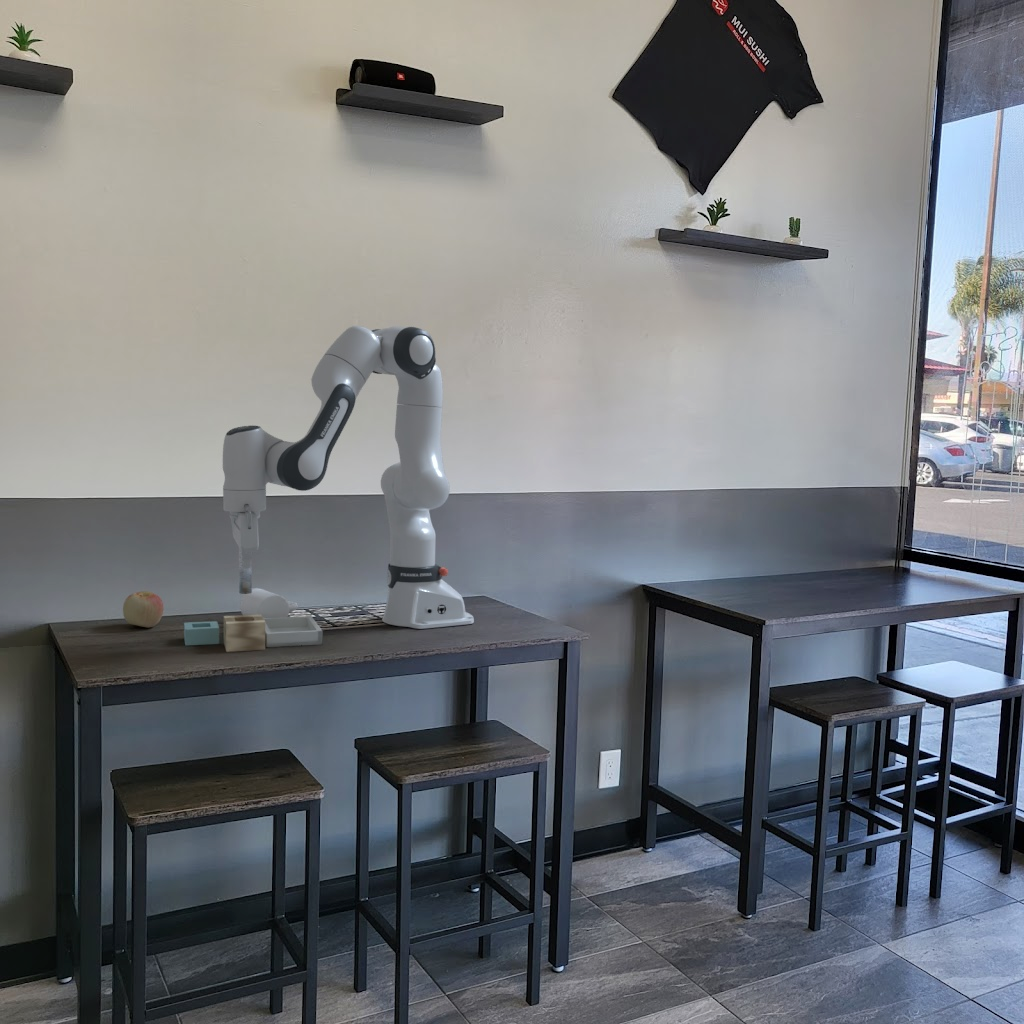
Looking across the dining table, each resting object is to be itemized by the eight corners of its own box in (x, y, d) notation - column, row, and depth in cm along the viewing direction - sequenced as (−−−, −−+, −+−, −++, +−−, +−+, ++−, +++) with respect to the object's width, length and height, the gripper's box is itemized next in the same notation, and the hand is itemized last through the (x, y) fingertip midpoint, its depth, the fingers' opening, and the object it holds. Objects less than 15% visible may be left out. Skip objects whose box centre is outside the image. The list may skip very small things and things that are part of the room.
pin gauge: (251, 591, 216) (251, 536, 215) (253, 593, 213) (253, 538, 212) (237, 591, 215) (237, 536, 214) (238, 594, 212) (238, 538, 211)
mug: (258, 630, 231) (258, 596, 230) (239, 622, 239) (239, 589, 238) (304, 624, 239) (305, 591, 238) (285, 617, 246) (285, 585, 245)
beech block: (261, 641, 220) (261, 614, 220) (265, 649, 213) (265, 622, 212) (223, 642, 217) (223, 616, 217) (226, 651, 210) (226, 623, 209)
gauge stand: (216, 636, 223) (216, 621, 223) (219, 643, 217) (219, 627, 216) (184, 638, 221) (184, 622, 220) (185, 645, 214) (185, 629, 214)
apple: (146, 621, 236) (146, 588, 236) (171, 626, 232) (171, 592, 231) (114, 627, 229) (114, 593, 228) (140, 633, 224) (140, 598, 224)
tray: (311, 628, 234) (311, 616, 234) (322, 644, 219) (322, 631, 219) (258, 631, 230) (258, 618, 229) (266, 647, 215) (266, 633, 214)
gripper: (265, 507, 203) (266, 573, 205) (255, 497, 222) (256, 558, 224) (233, 507, 201) (234, 575, 203) (225, 498, 220) (227, 559, 222)
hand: (245, 566), depth 213 cm, fingers closed on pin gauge, 3 cm apart
